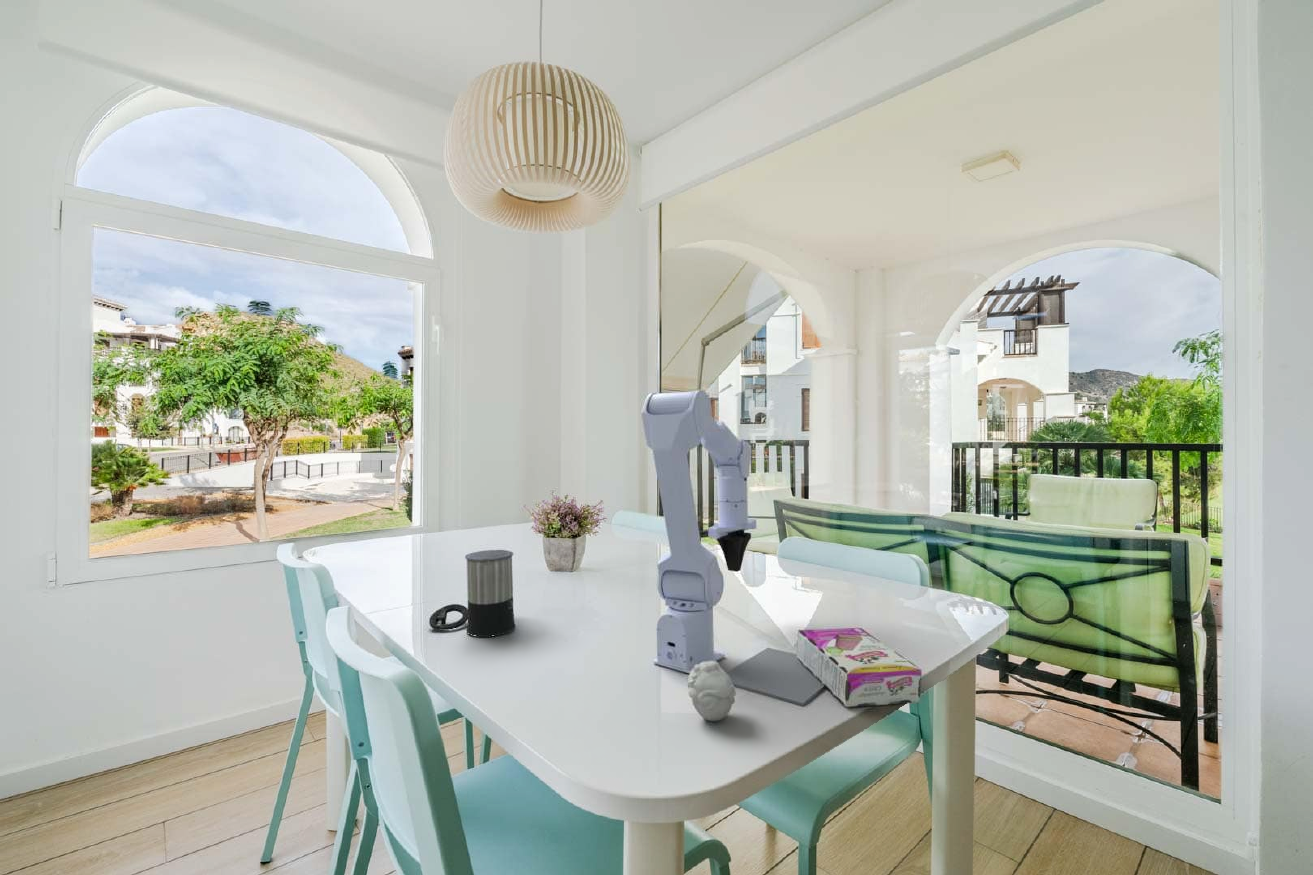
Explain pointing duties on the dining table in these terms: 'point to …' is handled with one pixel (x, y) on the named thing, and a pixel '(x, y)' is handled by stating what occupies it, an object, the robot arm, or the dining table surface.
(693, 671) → the white carved ornament
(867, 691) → the candy bar box
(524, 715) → the dining table surface
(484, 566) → the milk frother
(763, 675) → the rubber mat
